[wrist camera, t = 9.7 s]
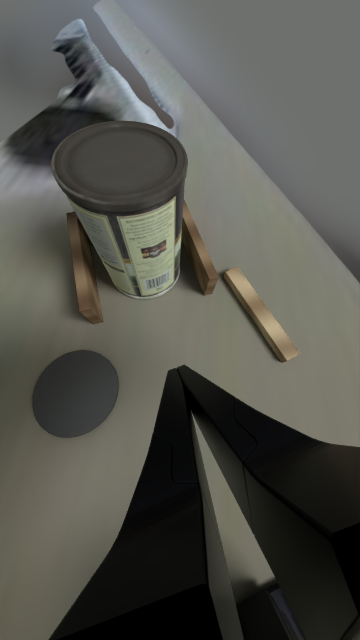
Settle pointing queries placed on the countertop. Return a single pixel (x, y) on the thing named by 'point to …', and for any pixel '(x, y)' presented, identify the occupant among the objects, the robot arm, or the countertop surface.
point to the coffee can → (128, 200)
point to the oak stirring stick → (261, 315)
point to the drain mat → (75, 394)
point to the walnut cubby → (85, 269)
